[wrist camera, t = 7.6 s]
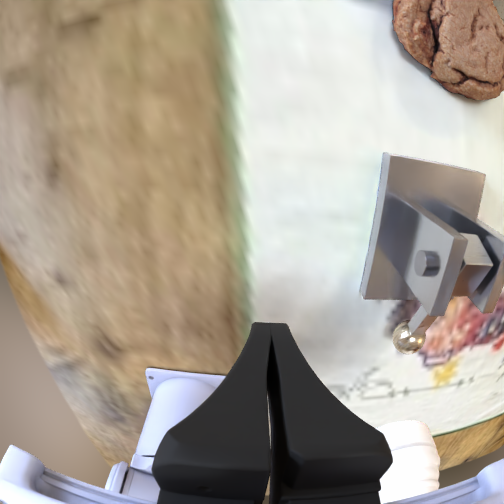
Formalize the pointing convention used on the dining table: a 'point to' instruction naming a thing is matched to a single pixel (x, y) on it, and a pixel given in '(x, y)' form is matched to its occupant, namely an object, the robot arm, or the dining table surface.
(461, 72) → the cookie
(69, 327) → the dining table surface
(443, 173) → the bracket
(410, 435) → the honey pot
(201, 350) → the dining table surface
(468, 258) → the tap lever
